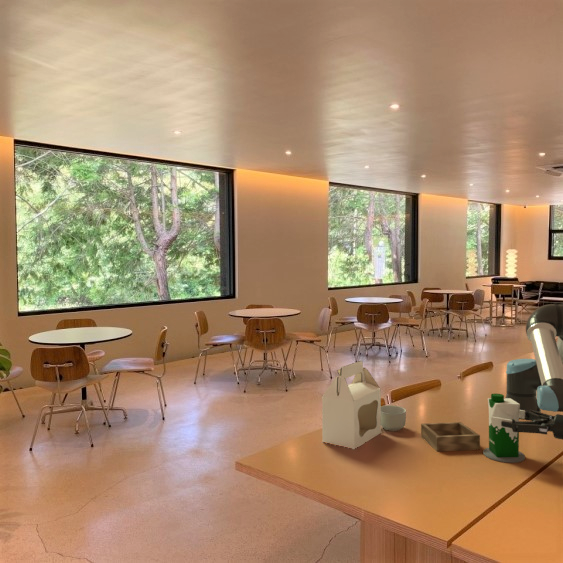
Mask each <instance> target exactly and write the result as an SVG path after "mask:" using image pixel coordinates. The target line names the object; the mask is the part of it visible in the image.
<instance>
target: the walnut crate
mask: <svg viewBox="0 0 563 563" xmlns="http://www.w3.org/2000/svg"><path fill="white" fill-rule="evenodd" d="M420 426H421V428H420V432H421V433H420V435H421V436H420V437H421V438H422V439H423V438H424V439H425V440H426V441H427V442H428V443H427V442H426V441H425V440H424V439H423V440H424V441H425V442H426V443H427V444H428V445H429V446H431V447H432V448H433V449H434V450H435V451H436V452H452V451H453V452H454V451H456V452H457V451H458V452H459V451H474V450H476V449H477V450H478V449H480V450H481V447H480V446H481V434H479V433H477V432H476V431H474V430H473V429H471V428H470V427H469V426H467V425H466V424H465V423H463V422H462V421H457V422H456V421H455V422H453V421H452V422H430V423H425V422H424V423H421V424H420ZM477 450H476V451H477Z"/></svg>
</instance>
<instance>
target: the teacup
mask: <svg viewBox="0 0 563 563" xmlns="http://www.w3.org/2000/svg"><path fill="white" fill-rule="evenodd" d="M406 419H407V409H406V408H404V407H402V406H399V405H394V404H393V405H391V404H389V405H386V404H385V405H382V406H381V428H383V429H384V430H386V431H388V430H389V431H388V432H399V431H401V429H403V428H404V427H405V425H406Z"/></svg>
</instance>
